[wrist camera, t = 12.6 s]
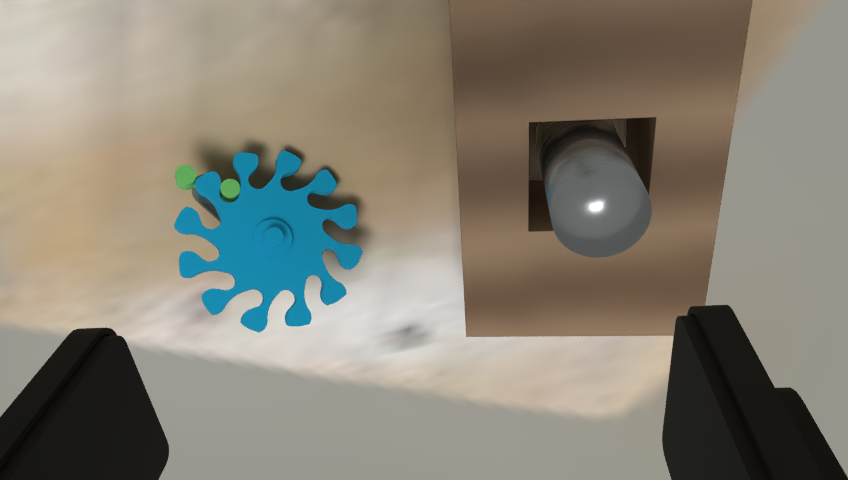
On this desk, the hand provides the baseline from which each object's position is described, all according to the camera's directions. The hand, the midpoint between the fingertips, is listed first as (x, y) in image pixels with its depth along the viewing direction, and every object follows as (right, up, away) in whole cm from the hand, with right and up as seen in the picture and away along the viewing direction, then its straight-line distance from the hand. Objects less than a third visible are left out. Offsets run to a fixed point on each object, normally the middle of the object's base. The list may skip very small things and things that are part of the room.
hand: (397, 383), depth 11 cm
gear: (-8, +5, +28) cm, 30 cm away
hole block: (+9, +8, +24) cm, 27 cm away
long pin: (+8, +8, +24) cm, 27 cm away
